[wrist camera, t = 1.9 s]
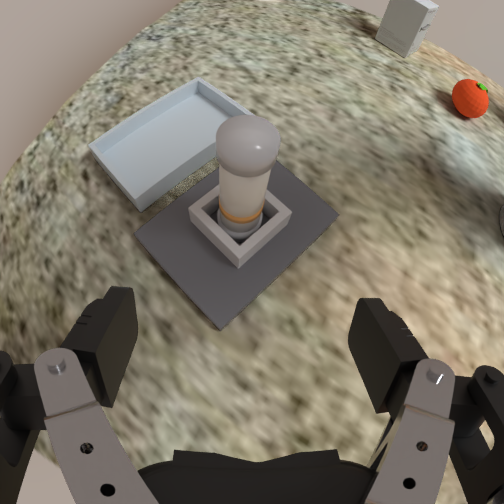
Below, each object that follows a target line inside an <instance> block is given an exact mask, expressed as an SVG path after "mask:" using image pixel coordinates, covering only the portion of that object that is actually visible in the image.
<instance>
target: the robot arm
mask: <svg viewBox="0 0 504 504" xmlns="http://www.w3.org/2000/svg"><path fill="white" fill-rule="evenodd" d="M499 218H500V226H501V230H502V233H503V236H504V205H503V206H502V207H501V210H500V215H499ZM137 336H138V322H137V314H136V307H135V299H134V292H133V289H132V288H130V287H117V286H111V287H110V288H109V290H108V292H107V293H106V295H105V296H104V298H103V299H96V300H94V301H93V302H92V303H90V304H89V305H87V306H86V308H85V309H84V311H83V312H82V314H81V317H79V318H78V320H77V321H76V324H74V326H73V328H72V329H71V331H70V332H69V334H68V335H67V337H66V338H65V340H64V342H63V343H62V345H61V346H60V348H54V349H50V350H47V351H45V352H44V353H42V354H41V355H40V356H39V357H38V358H37V359H36V361H35V364H17V365H14V364H13V362H12V359H11V357H10V356H9V354H8V353H6V352H4V351H0V416H1V418H0V504H16V502H17V499H18V495H19V491H20V488H21V485H22V482H23V479H24V475H25V472H26V469H27V466H28V463H29V460H30V457H31V454H32V451H33V449H34V446H35V443H36V440H37V438H38V435H39V432H40V430H47V432H48V435H49V438H50V441H51V444H52V447H53V449H54V452H55V455H56V458H57V460H58V463H59V466H60V468H61V471H62V473H63V475H64V478H65V480H66V482H67V485H68V487H69V490H70V492H71V494H72V496H73V498H74V501H75V503H76V504H435V502H436V498H437V495H438V492H439V489H440V485H441V482H442V478H443V475H444V471H445V467H446V463H447V459H448V455H449V456H450V458H451V461H452V463H453V466H454V468H455V471H456V473H457V476H458V478H459V481H460V483H461V486H462V489H463V491H464V494H465V497H466V500H467V502H468V504H504V375H503V373H501V372H500V371H499V370H498V369H496V368H494V367H491V366H487V365H483V366H479V367H478V368H477V369H476V370H475V372H474V374H473V376H472V377H464V376H455V374H454V372H453V370H452V369H451V368H450V367H449V366H448V365H447V364H445V363H444V362H442V361H439V360H436V359H429V358H428V356H427V355H426V353H425V352H424V350H423V349H422V347H421V346H420V344H419V343H418V341H417V340H416V338H415V337H414V336H413V334H412V332H411V331H410V330H409V329H408V327H407V325H406V324H405V322H404V321H403V320H402V318H400V317H399V316H398V315H396V314H395V313H394V312H392V311H389V310H388V309H387V307H386V306H385V304H384V303H383V301H382V300H381V299H380V298H360V299H359V300H358V302H357V305H356V309H355V313H354V316H353V320H352V323H351V327H350V331H349V335H348V345H349V349H350V351H351V354H352V356H353V358H354V361H355V363H356V365H357V368H358V370H359V373H360V375H361V377H362V380H363V382H364V385H365V387H366V389H367V392H368V394H369V397H370V399H371V402H372V404H373V407H374V409H375V412H376V414H378V413H385V412H389V413H390V418H389V420H388V421H387V424H386V426H385V428H384V430H383V433H382V435H381V437H380V439H379V442H378V444H377V446H376V448H375V450H374V452H373V454H372V456H371V458H370V460H369V462H368V464H367V466H363V465H361V464H358V463H354V462H351V461H345V460H340V459H339V455H338V451H337V449H334V450H324V451H313V452H299V453H295V454H292V455H288V456H284V457H280V458H276V459H272V460H268V461H264V462H251V461H247V460H242V459H238V458H233V457H229V456H225V455H221V454H217V453H207V452H193V451H181V450H174V455H173V460H172V461H165V462H160V463H156V464H153V465H149V466H147V467H145V468H142V469H140V470H138V471H137V470H136V469H135V467H134V465H133V464H132V462H131V460H130V459H129V457H128V455H127V454H126V452H125V450H124V449H123V447H122V445H121V443H120V442H119V440H118V438H117V436H116V434H115V433H114V431H113V429H112V427H111V425H110V423H109V421H108V419H107V418H106V416H105V414H104V412H103V410H102V408H101V406H104V407H110V408H112V407H113V404H114V401H115V398H116V396H117V393H118V390H119V387H120V384H121V381H122V379H123V376H124V373H125V370H126V367H127V365H128V362H129V359H130V357H131V354H132V351H133V349H134V346H135V343H136V341H137ZM485 420H486V422H487V424H488V426H489V427H490V429H491V431H492V433H493V435H494V440H495V442H494V446H493V449H492V450H491V451H490V449H489V447H488V445H487V443H486V441H485V439H484V437H483V435H482V433H481V431H480V429H479V427H480V426H481V425H482V423H483V422H484V421H485Z"/></svg>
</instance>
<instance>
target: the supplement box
mask: <svg viewBox="0 0 504 504" xmlns="http://www.w3.org/2000/svg"><path fill="white" fill-rule="evenodd" d="M438 8H439V6H438V5H436V4H435V3H433V2H432V1H430V0H390V1H389V4H388V7H387V9H386V12H385V14H384V17H383V19H382V22H381V24H380V27H379V29H378V32H377V34H376V37H375V39H376V40H377V41H379V42H381V43H382V44H384V45H385V46H387V47H389V48H390V49H392V50H393V51H395V52H396V53H398V54H399V55H401V56H402V57H404V58H406V57H407V56H409V55H410V54H412V53H414V52H416V51H417V50H418V49H419V47H420V45H421V43H422V41H423V39H424V37H425V35H426V33H427V31H428V29H429V27H430V25H431V23H432V21H433V18H434V16H435V14H436V12H437V10H438Z"/></svg>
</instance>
